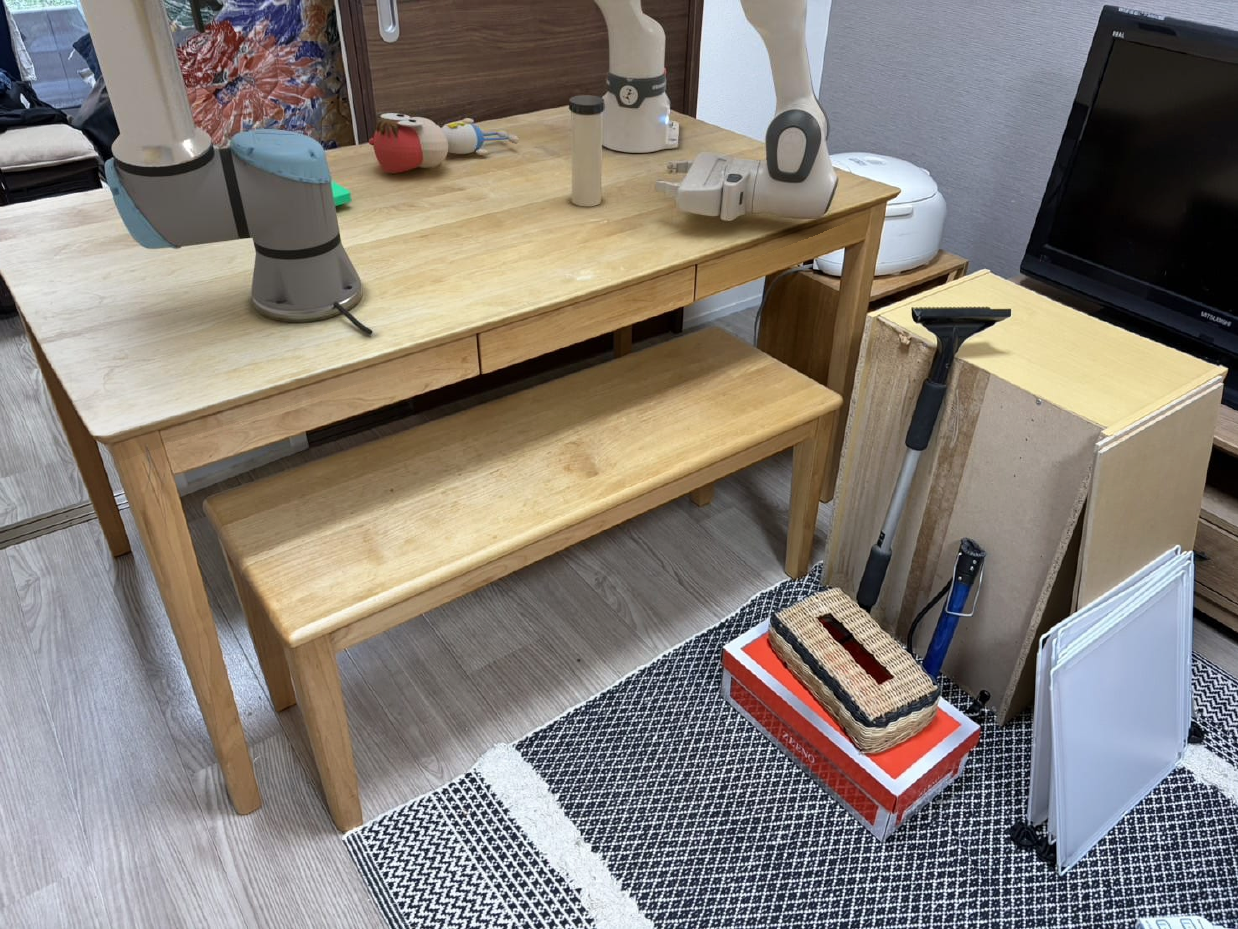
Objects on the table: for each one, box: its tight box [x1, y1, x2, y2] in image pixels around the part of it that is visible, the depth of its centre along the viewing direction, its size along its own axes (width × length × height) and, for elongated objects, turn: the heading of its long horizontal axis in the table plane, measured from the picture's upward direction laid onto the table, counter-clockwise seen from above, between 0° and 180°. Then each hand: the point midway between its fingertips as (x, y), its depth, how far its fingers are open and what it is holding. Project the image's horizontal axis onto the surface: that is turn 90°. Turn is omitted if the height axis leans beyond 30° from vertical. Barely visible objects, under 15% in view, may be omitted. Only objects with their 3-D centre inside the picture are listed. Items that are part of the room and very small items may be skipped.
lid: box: [568, 94, 605, 114], centre depth 158 cm, size 6×6×2 cm
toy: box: [368, 112, 520, 174], centre depth 181 cm, size 18×10×30 cm
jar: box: [570, 111, 603, 207], centre depth 163 cm, size 5×5×17 cm
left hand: (156, 36), depth 147 cm, fingers open, 13 cm apart
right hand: (661, 175), depth 162 cm, fingers open, 8 cm apart
